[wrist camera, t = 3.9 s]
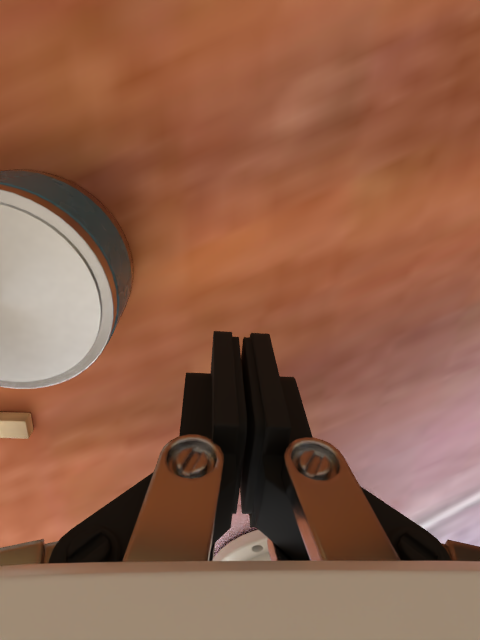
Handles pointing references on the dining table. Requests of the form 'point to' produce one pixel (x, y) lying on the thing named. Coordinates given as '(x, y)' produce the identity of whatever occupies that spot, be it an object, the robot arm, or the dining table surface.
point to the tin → (56, 278)
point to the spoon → (15, 425)
